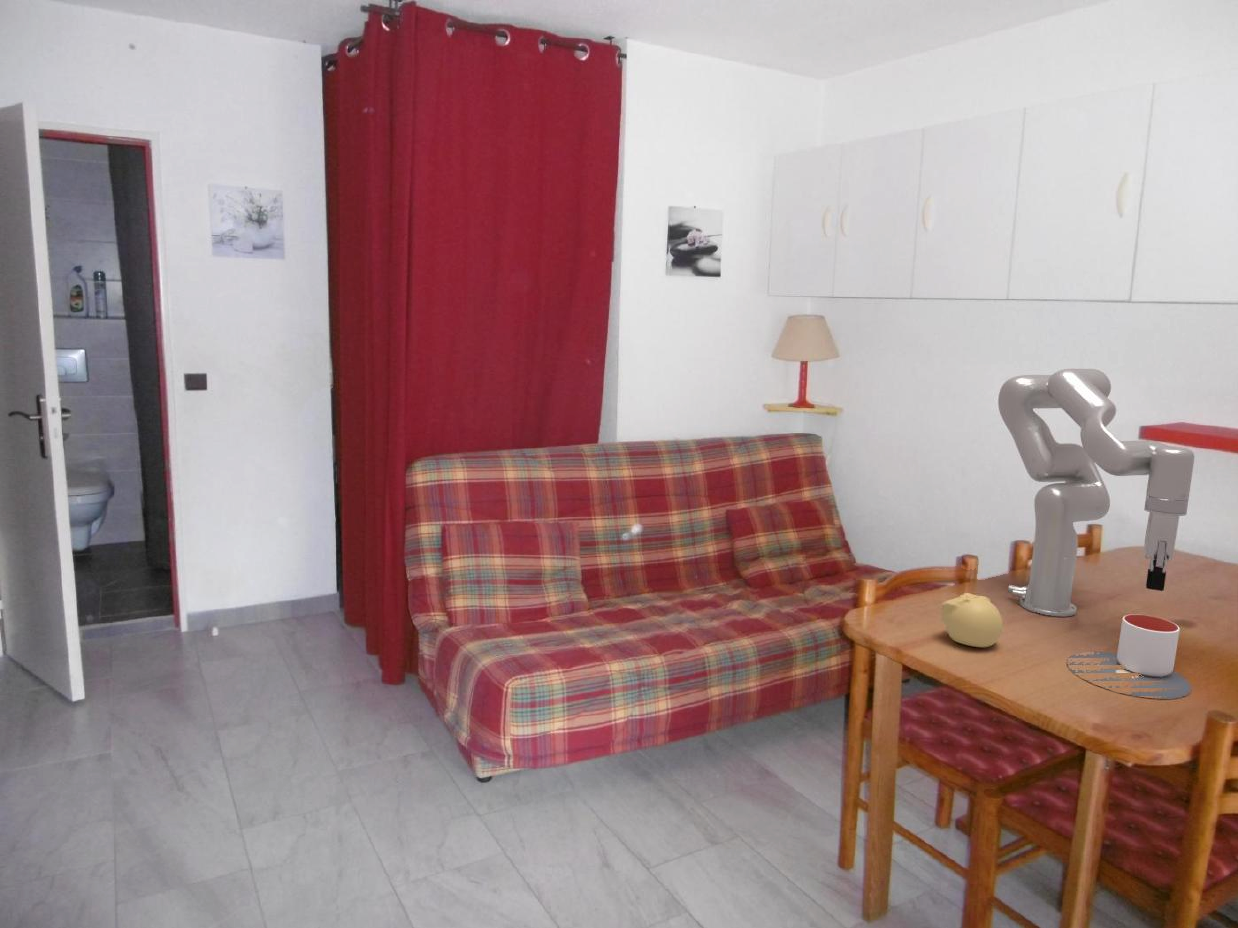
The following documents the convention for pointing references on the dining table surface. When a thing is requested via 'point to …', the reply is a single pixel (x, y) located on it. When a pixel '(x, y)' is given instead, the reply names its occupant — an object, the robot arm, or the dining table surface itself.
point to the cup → (1148, 645)
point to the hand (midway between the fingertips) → (1154, 588)
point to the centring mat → (1140, 678)
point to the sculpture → (972, 620)
